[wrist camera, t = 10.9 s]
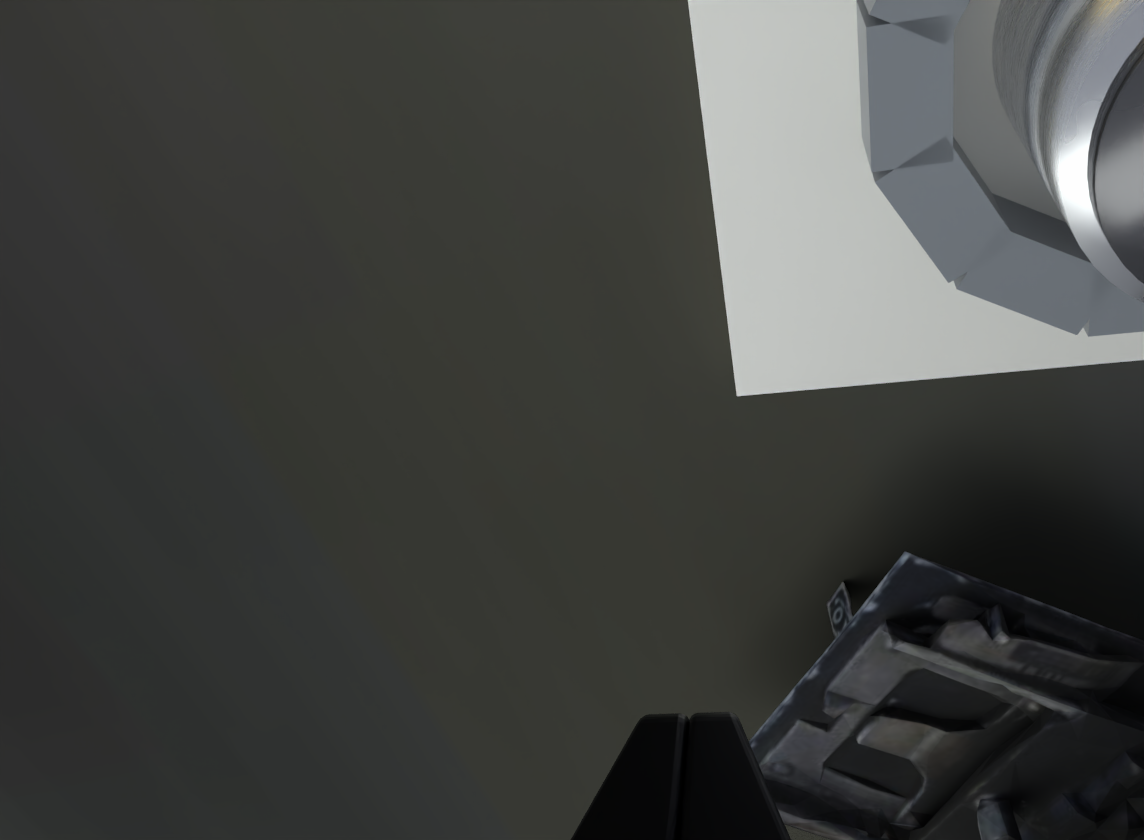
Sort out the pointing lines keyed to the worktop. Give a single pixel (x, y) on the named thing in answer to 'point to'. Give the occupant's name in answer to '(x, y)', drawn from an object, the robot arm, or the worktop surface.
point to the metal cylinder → (1082, 118)
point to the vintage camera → (960, 719)
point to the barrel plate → (885, 202)
